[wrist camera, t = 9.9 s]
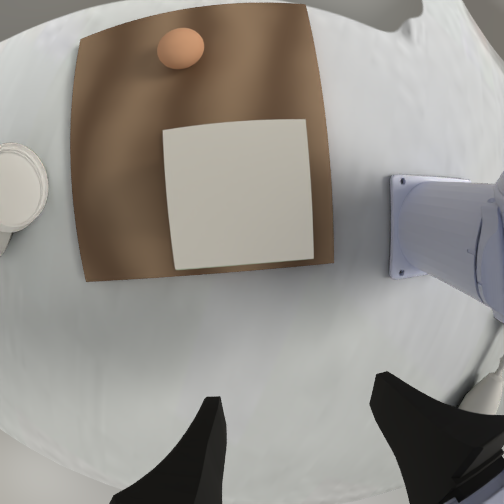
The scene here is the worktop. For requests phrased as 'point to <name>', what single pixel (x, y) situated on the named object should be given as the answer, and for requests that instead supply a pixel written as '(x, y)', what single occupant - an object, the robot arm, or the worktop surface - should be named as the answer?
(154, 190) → the walnut board
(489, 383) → the chalice
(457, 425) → the robot arm
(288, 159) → the rounded beige cube
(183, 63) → the terracotta ball
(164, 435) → the worktop surface
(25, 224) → the spread jar
